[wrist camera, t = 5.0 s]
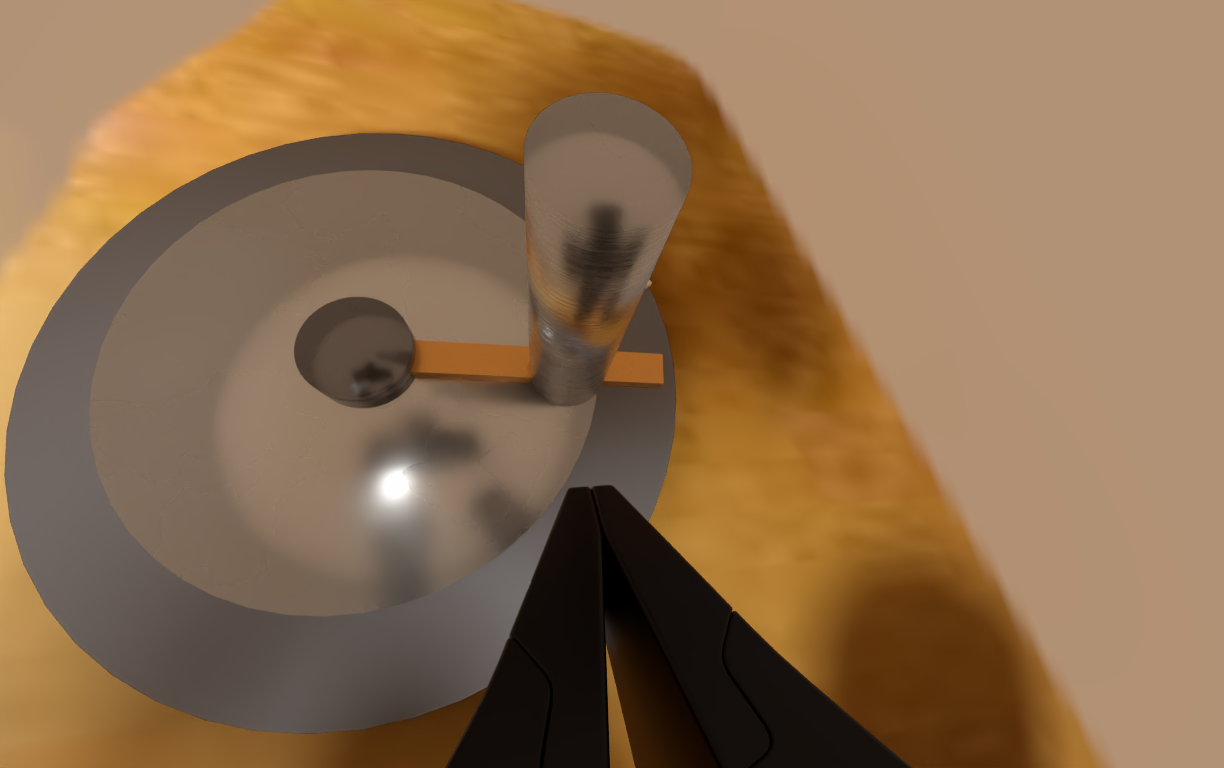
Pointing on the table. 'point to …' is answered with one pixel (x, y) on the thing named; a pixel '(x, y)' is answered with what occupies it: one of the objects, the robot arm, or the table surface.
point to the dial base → (255, 639)
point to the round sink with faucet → (382, 366)
